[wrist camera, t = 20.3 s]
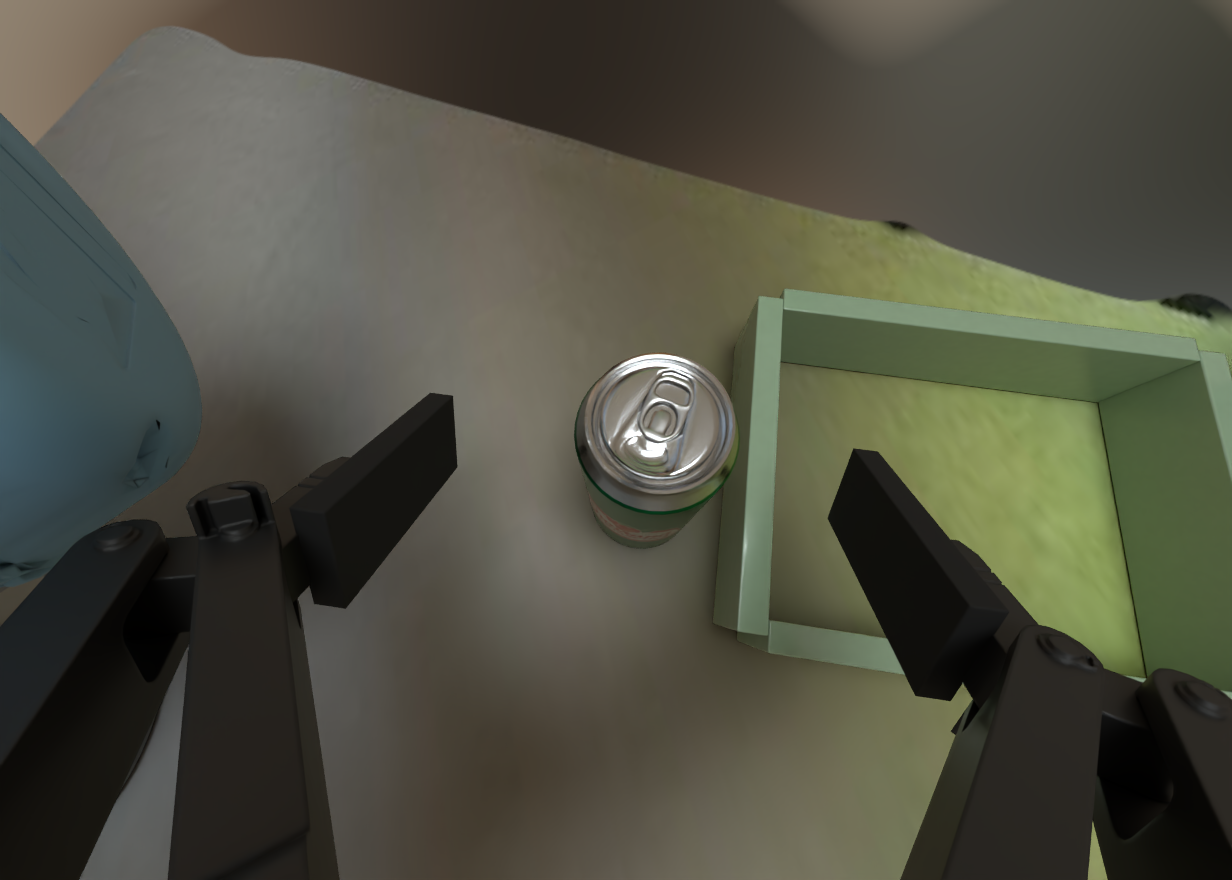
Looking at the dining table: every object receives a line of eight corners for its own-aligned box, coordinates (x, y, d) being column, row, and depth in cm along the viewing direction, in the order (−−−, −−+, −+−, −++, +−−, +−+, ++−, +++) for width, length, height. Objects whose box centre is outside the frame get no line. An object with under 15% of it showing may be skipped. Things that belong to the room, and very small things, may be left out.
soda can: (575, 525, 25) (539, 463, 13) (615, 439, 26) (614, 316, 15) (667, 566, 24) (712, 538, 12) (703, 476, 25) (773, 377, 14)
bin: (711, 637, 23) (735, 648, 18) (735, 337, 28) (759, 284, 23) (1178, 711, 22) (1335, 743, 17) (1115, 386, 27) (1223, 341, 22)
